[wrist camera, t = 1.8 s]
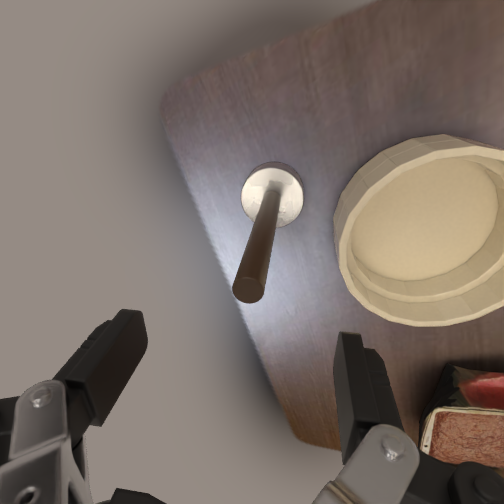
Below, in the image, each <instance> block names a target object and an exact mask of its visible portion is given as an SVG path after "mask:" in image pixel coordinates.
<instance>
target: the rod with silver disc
mask: <svg viewBox="0 0 504 504" xmlns="http://www.w3.org/2000/svg"><path fill="white" fill-rule="evenodd" d="M303 202H304V189H303V183H302V180H301V178H300V176H299V175H298V173H297V172H296V171H295V170H294V169H293V168H291V167H290V166H288V165H286V164H284V163H280V162H268V163H264V164H262V165H260V166H258V167H257V168H255V169H254V170H253V171H252V172H251V173H250V175H249V176H248V178H247V180H246V182H245V183H244V185H243V188H242V192H241V203H242V207H243V210H244V212H245V213H246V215H247V216H248V217H249V218H250V219H251V220H252V221H253V222H254V225H253V228H252V231H251V234H250V237H249V240H248V242H247V245H246V248H245V251H244V254H243V257H242V260H241V263H240V266H239V269H238V272H237V274H236V277H235V280H234V283H233V286H232V291H233V294H234V296H235V297H236V298H237V299H238V300H239V301H241V302H244V303H255V302H257V301H259V300H260V299H261V298H262V297H263V295H264V290H265V284H266V279H267V273H268V268H269V262H270V257H271V251H272V246H273V240H274V235H275V230H276V228H280V227H283V226H286V225H288V224H290V223H291V222H292V221H294V220H295V219H296V218H297V216H298V215H299V213H300V212H301V210H302V207H303Z"/></svg>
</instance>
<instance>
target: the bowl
mask: <svg viewBox="0 0 504 504" xmlns="http://www.w3.org/2000/svg"><path fill="white" fill-rule="evenodd" d="M333 231H334V244H335V249H336V254H337V259H338V264H339V268H340V271H341V274H342V276H343V278H344V281H345V283H346V285H347V288H348V290H349V292H350V293H351V294H352V295H353V296H354V297H355V298H356V299H357V300H358V301H359V302H360V303H361V304H362V305H363V306H364V307H365V308H366V309H367V310H369V311H371V312H373V313H375V314H377V315H379V316H381V317H383V318H385V319H386V320H388V321H392V322H397V323H402V324H406V325H411V326H416V327H422V326H448V325H452V324H456V323H461V322H465V321H469V320H473V319H476V318H479V317H481V316H483V315H485V314H487V313H490V312H492V311H494V310H496V309H498V308H500V307H502V306H504V150H503V149H500V148H497V147H494V146H491V145H488V144H485V143H482V142H479V141H476V140H472V139H467V138H461V137H456V136H451V135H446V134H441V135H433V136H426V137H418V138H412V139H409V140H406V141H404V142H402V143H400V144H397V145H395V146H393V147H390V148H388V149H386V150H383V151H382V152H380V153H379V154H377V155H376V156H375V157H374V158H372V159H371V160H370V161H369V162H367V163H366V164H365V165H364V166H362V167H361V168H360V169H359V170H358V171H357V172H356V173H355V175H354V176H353V177H352V179H351V180H350V182H349V183H348V185H347V186H346V187H345V189H344V190H343V192H342V193H341V195H340V198H339V201H338V204H337V207H336V211H335V214H334V217H333Z"/></svg>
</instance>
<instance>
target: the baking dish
mask: <svg viewBox="0 0 504 504" xmlns="http://www.w3.org/2000/svg"><path fill="white" fill-rule="evenodd" d="M419 423H420V425H419V441H418V448H419V449H420V450H422V451H423V452H425V453H426V454H428V455H430V456H432V457H434V458H436V459H438V460H441V461H443V462H445V463H447V464H450V465H452V466H454V467H457V466H458V465H459V464H460V463H462V462H465V461H472V462H477V463H480V464H483V465H485V466H487V467H489V468H491V469H492V470H494V471H495V472H496V473H498V474H499V475H500V476H501V477H502V478H503V479H504V373H495V372H486V371H477V370H468V369H464V368H461V367H457V366H454V365H451V364H446V366H445V369H444V371H443V374H442V376H441V378H440V381H439V383H438V386H437V388H436V391H435V393H434V395H433V398H432V399H431V401H430V402H429V403H428V405H427V406H426V407H425V409H424V411H423V414H422V416H421V419H420V421H419Z"/></svg>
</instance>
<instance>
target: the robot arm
mask: <svg viewBox="0 0 504 504" xmlns="http://www.w3.org/2000/svg"><path fill="white" fill-rule="evenodd" d="M147 344H148V337H147V332H146V327H145V323H144V318H143V314H142V312H141V311H138V310H128V309H122V310H120V311H119V312H118V313H117V315H116V316H115V317H114V318H113V319H112V321H111V320H107V321H106V322H104V323H103V324H101V325H100V326H98V327H97V328H96V329H95V330H94V331H93V332H92V333H91V334H90V335H89V337H88V338H87V340H85V341H84V343H83V344H82V345H81V347H80V348H78V350H77V351H76V352H75V353H74V354H73V356H72V357H71V358H70V359H69V360H68V361H67V363H66V364H65V365H64V366H63V367H62V368H61V369H60V371H59V372H58V373H57V374H56V375H55V377H54V378H53V379H52V380H46V381H42V382H40V383H37V384H35V385H33V386H32V387H30V388H29V389H27V390H26V391H25V392H24V393H23V394H22V395H21V396H17V397H11V398H4V399H0V504H93V500H92V496H91V491H90V485H89V474H88V461H87V449H86V438H85V434H84V433H85V431H86V429H87V428H88V426H89V425H93V426H100V427H101V426H102V425H103V423H104V421H105V420H106V418H107V416H108V414H109V413H110V411H111V410H112V408H113V406H114V404H115V403H116V401H117V399H118V398H119V396H120V394H121V393H122V391H123V389H124V388H125V386H126V384H127V383H128V381H129V379H130V377H131V376H132V374H133V372H134V371H135V369H136V367H137V366H138V364H139V362H140V361H141V359H142V357H143V355H144V354H145V351H146V349H147ZM333 375H334V385H335V395H336V404H337V414H338V423H339V433H340V442H341V452H342V462H343V465H345V466H344V467H343V469H342V470H341V472H340V473H339V475H338V476H337V477H336V479H335V480H334V481H329V482H328V483H327V484H326V485H325V486H324V488H323V489H322V490H321V492H320V493H319V495H318V496H317V497H316V499H315V500H314V501H313V503H312V504H504V479H503V478H502V477H501V476H500V475H499V474H498V473H496V472H495V471H494V470H492V469H491V468H489V467H487V466H485V465H483V464H480V463H477V462H472V461H465V462H462V463H460V464H459V465H458V466H457V467H454V466H452V465H450V464H447V463H445V462H443V461H441V460H438V459H436V458H434V457H432V456H430V455H428V454H426V453H425V452H423V451H422V450H420V449H419V448H418V447H417V446H416V445H415V443H414V442H413V440H412V439H411V438H410V437H409V436H408V435H407V434H406V433H405V431H404V429H403V426H402V423H401V419H400V416H399V413H398V409H397V406H396V402H395V399H394V395H393V392H392V389H391V386H390V382H389V378H388V376H387V371H386V368H385V365H384V361H383V359H382V358H381V357H380V356H379V354H378V353H377V352H376V351H375V349H369V348H364V347H363V342H362V338H361V335H360V333H351V332H341V331H340V332H339V335H338V340H337V346H336V352H335V357H334V366H333ZM97 504H166V503H164V502H162V501H160V500H159V499H157V498H155V497H153V496H151V495H150V494H148V493H142V492H137V491H130V490H125V489H119V488H116V490H115V492H114V494H113V496H112V498H111V500H107V501H103V502H100V503H97Z"/></svg>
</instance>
